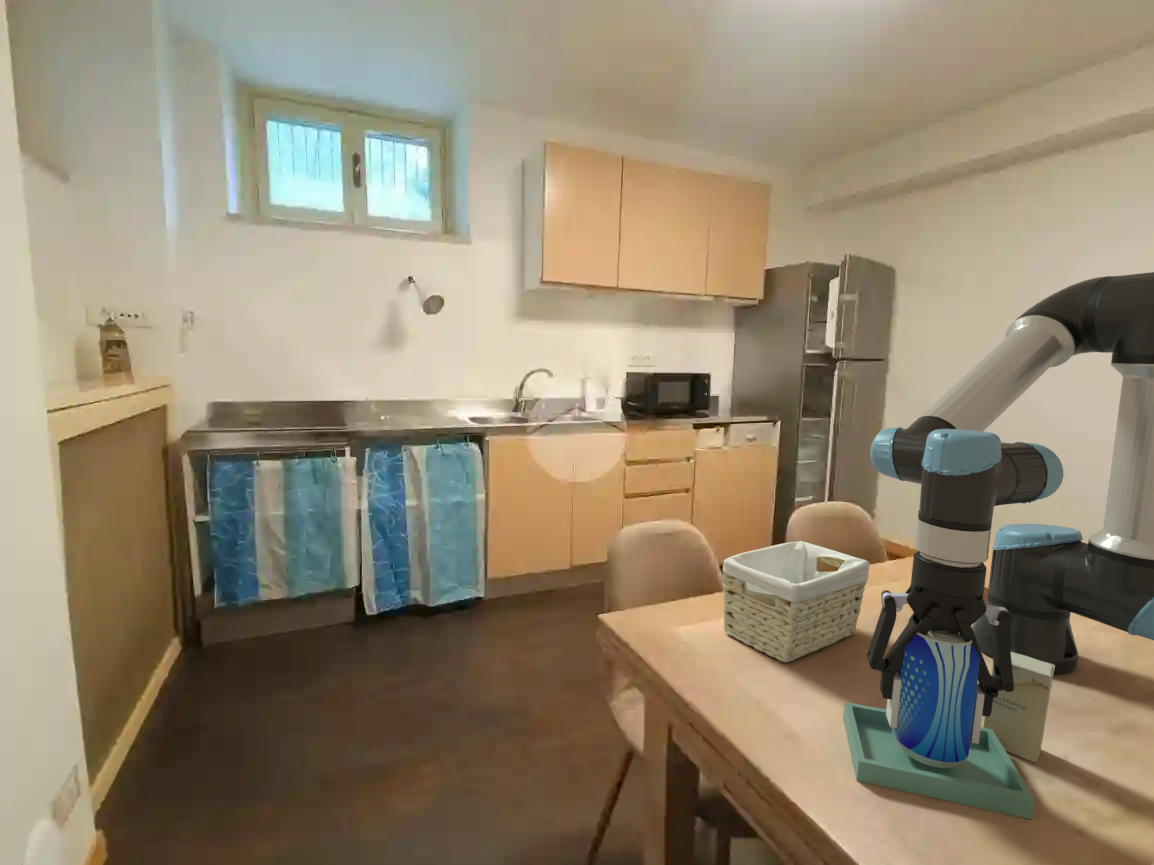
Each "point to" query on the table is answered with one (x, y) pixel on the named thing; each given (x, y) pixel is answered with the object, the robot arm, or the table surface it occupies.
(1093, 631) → the table surface
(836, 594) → the storage basket
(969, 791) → the tray
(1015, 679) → the skincare box
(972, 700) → the beer can
